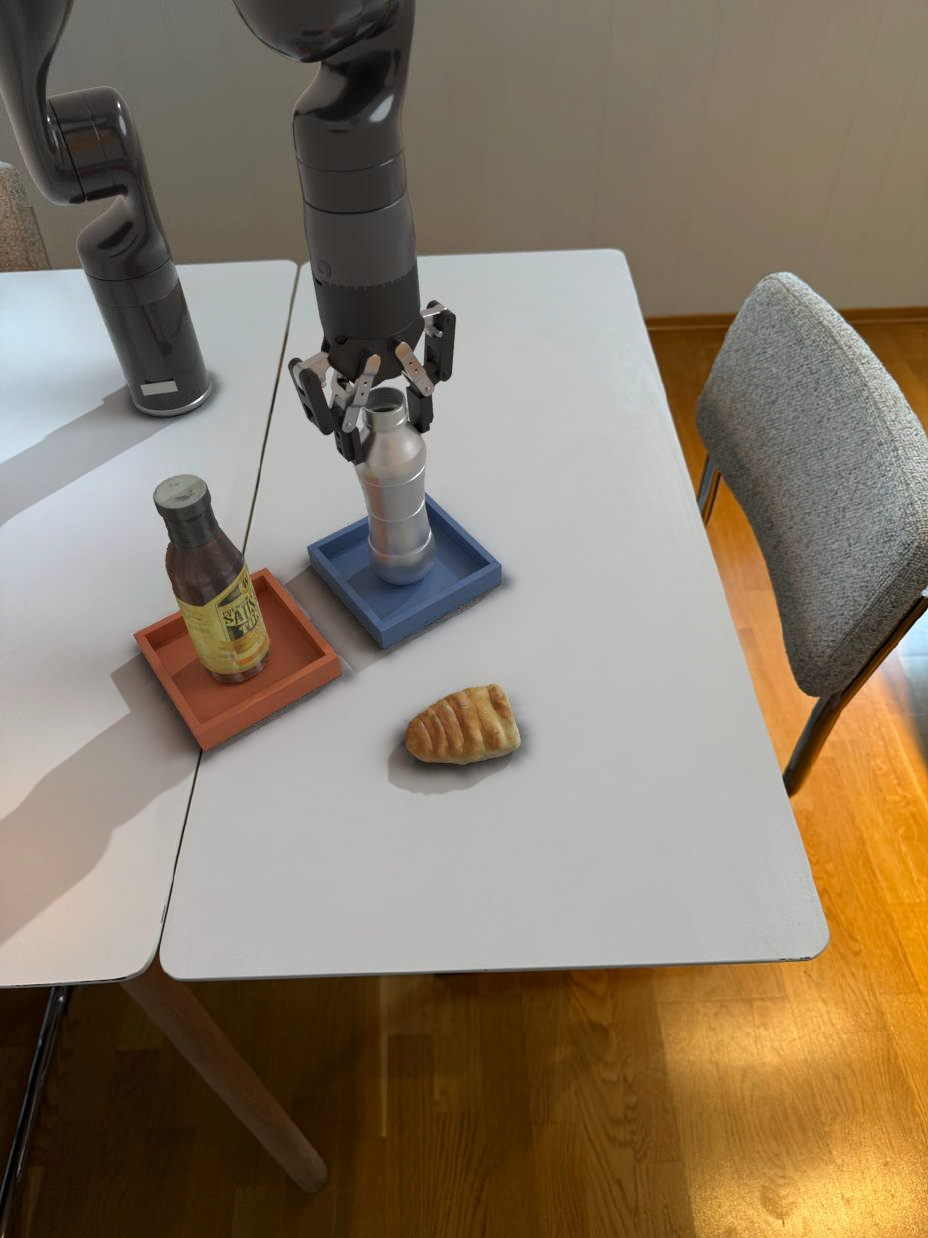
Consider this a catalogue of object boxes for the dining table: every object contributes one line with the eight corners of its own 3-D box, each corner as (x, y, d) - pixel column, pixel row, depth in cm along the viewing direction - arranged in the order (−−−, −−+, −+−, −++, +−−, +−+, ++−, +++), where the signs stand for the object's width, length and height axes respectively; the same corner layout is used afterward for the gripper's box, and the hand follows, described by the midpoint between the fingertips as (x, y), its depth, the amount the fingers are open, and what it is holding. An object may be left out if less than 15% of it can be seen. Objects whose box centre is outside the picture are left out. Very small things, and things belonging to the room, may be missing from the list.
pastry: (418, 786, 73) (414, 761, 70) (396, 721, 77) (391, 695, 74) (526, 753, 75) (527, 727, 72) (499, 690, 79) (498, 664, 76)
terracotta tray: (141, 651, 83) (132, 633, 81) (271, 584, 88) (266, 566, 86) (204, 752, 76) (196, 735, 74) (342, 673, 81) (338, 656, 79)
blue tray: (310, 564, 89) (306, 546, 87) (423, 506, 94) (421, 488, 92) (383, 650, 82) (380, 632, 80) (502, 582, 87) (502, 564, 85)
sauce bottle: (259, 692, 79) (200, 530, 64) (193, 682, 80) (119, 520, 65) (283, 635, 83) (233, 469, 68) (220, 626, 84) (156, 461, 69)
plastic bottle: (450, 559, 88) (439, 389, 73) (411, 604, 85) (391, 435, 69) (397, 536, 91) (375, 366, 75) (356, 578, 87) (325, 409, 72)
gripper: (418, 203, 67) (432, 390, 80) (246, 266, 62) (290, 455, 75) (477, 242, 63) (481, 432, 76) (299, 312, 58) (336, 503, 71)
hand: (387, 442), depth 76 cm, fingers closed on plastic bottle, 6 cm apart
